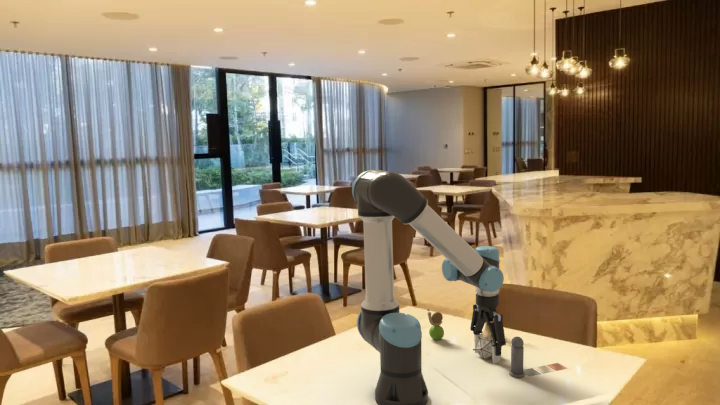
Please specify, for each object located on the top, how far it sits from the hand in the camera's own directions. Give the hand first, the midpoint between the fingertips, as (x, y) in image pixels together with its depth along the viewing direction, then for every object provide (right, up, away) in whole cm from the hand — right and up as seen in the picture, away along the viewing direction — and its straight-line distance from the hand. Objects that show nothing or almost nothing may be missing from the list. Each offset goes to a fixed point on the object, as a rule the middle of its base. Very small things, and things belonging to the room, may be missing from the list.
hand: (487, 358), depth 180 cm
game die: (0, 0, 0) cm, 0 cm away
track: (+13, -1, -12) cm, 18 cm away
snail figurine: (-15, +1, +19) cm, 24 cm away
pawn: (+5, -1, -15) cm, 16 cm away
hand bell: (+7, +2, +22) cm, 23 cm away
